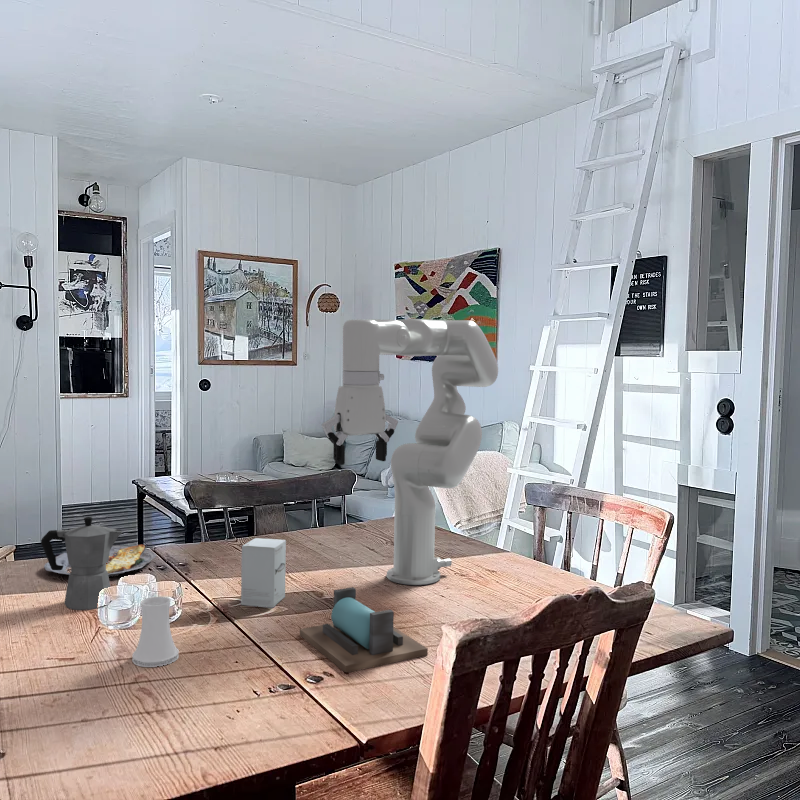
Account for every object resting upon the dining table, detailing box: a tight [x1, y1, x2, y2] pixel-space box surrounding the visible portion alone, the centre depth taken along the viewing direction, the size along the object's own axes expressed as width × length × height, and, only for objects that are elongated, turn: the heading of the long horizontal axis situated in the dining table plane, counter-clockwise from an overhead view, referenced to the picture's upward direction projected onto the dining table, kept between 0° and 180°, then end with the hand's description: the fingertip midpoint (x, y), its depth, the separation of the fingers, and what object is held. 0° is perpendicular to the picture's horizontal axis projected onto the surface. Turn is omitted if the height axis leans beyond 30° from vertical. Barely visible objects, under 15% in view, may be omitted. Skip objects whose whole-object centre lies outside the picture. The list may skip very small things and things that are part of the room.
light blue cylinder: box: [330, 597, 375, 649], centre depth 139 cm, size 11×6×6 cm, turn 31°
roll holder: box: [299, 586, 429, 673], centre depth 139 cm, size 16×19×8 cm
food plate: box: [43, 544, 157, 578], centre depth 186 cm, size 25×23×4 cm
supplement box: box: [240, 537, 287, 609], centre depth 162 cm, size 7×7×13 cm
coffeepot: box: [40, 516, 123, 611], centre depth 158 cm, size 15×9×18 cm, turn 110°
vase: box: [131, 596, 180, 668], centre depth 132 cm, size 8×8×10 cm
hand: (360, 462), depth 160 cm, fingers open, 9 cm apart
